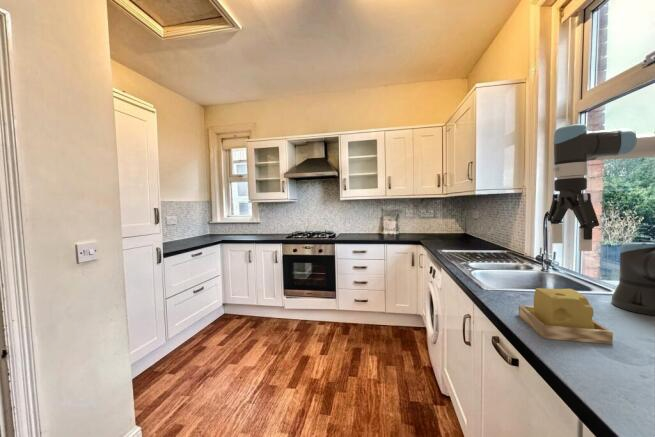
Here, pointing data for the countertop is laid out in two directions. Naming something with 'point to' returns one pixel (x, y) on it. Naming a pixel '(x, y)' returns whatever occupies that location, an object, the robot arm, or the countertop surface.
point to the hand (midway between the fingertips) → (570, 246)
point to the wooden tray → (566, 329)
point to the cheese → (563, 308)
